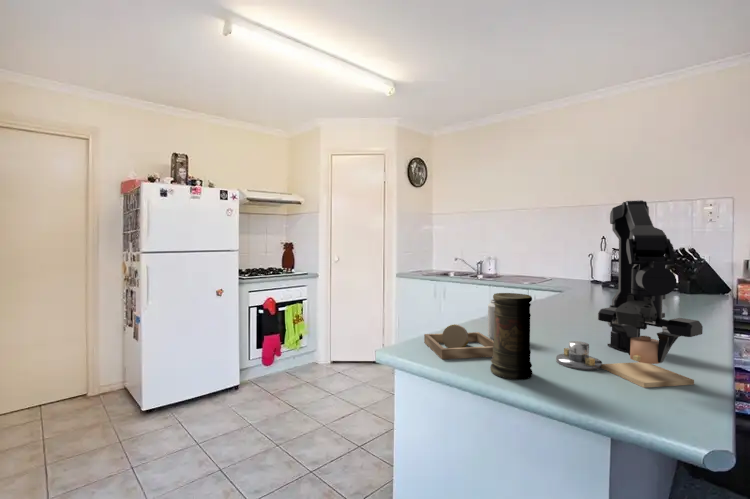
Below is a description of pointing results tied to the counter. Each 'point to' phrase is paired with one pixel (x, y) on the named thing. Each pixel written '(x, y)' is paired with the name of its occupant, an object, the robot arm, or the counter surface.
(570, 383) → the counter surface
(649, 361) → the cap
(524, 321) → the container
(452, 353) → the coaster frame
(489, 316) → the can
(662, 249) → the robot arm
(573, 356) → the metal flange
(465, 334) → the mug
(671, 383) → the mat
